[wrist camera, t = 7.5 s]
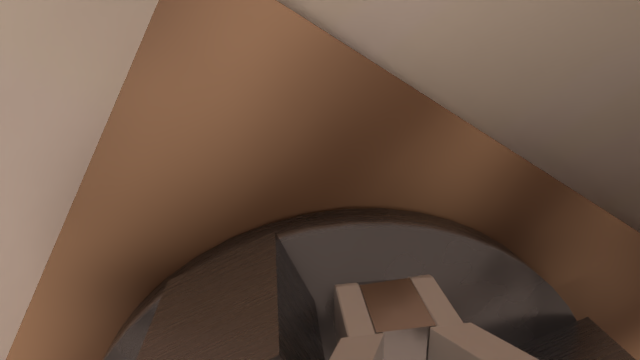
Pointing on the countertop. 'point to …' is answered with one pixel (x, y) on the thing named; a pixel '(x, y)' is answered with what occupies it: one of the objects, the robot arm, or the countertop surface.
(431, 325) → the robot arm
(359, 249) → the lathe chuck
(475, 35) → the countertop surface
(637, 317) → the base plate
